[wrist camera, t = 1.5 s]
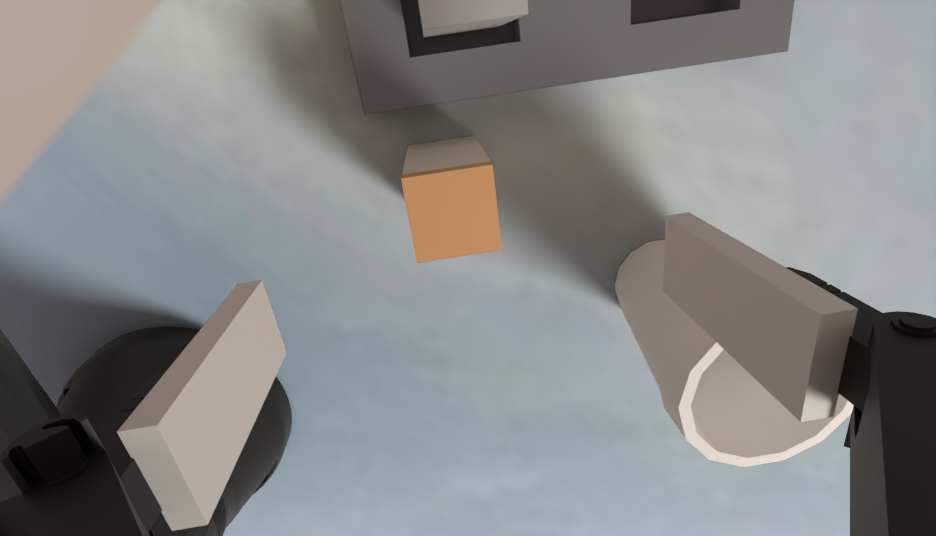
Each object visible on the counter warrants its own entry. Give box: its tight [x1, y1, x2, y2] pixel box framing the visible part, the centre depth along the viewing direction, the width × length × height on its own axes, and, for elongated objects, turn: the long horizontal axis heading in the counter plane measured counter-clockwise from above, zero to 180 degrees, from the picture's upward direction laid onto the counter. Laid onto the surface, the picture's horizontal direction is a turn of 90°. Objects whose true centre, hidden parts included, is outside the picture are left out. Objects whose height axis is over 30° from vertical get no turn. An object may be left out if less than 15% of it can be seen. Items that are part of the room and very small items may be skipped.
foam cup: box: [614, 239, 854, 467], centre depth 29 cm, size 10×9×13 cm
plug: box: [401, 135, 502, 263], centre depth 27 cm, size 4×4×9 cm
